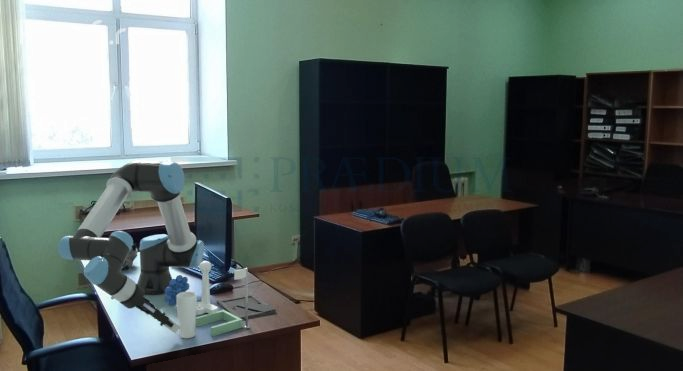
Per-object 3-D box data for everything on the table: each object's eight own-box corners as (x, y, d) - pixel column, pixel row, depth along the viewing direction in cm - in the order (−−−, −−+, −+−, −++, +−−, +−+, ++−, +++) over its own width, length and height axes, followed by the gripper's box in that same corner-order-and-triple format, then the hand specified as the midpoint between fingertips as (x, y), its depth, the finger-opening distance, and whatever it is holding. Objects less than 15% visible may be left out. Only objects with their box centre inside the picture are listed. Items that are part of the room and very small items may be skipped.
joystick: (220, 312, 223) (219, 262, 220) (205, 318, 217) (204, 266, 214) (200, 306, 230) (199, 257, 227) (185, 311, 223) (184, 261, 220)
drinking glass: (179, 332, 204) (178, 291, 202) (198, 331, 205) (198, 291, 202) (175, 340, 197) (174, 298, 195) (195, 339, 198) (194, 297, 196)
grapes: (182, 298, 237) (182, 270, 236) (193, 302, 233) (192, 273, 231) (158, 306, 228) (157, 277, 226) (168, 310, 224) (168, 280, 222)
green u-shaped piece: (194, 325, 210) (194, 317, 210) (223, 317, 219) (223, 309, 218) (212, 336, 201) (212, 328, 201) (242, 327, 210) (242, 319, 209)
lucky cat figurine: (106, 264, 281) (118, 237, 285) (130, 272, 284) (142, 246, 287) (103, 263, 267) (116, 235, 271) (128, 273, 270) (141, 245, 273)
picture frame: (275, 314, 225) (253, 297, 242) (275, 309, 224) (253, 293, 242) (237, 321, 216) (216, 304, 233) (237, 316, 216) (216, 299, 233)
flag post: (232, 330, 207) (232, 269, 204) (247, 325, 211) (247, 266, 208) (236, 332, 205) (236, 271, 202) (251, 327, 210) (251, 268, 206)
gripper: (111, 296, 187) (160, 332, 201) (128, 308, 178) (178, 345, 191) (126, 277, 190) (174, 314, 204) (144, 288, 181) (193, 325, 194)
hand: (176, 329), depth 198 cm, fingers closed
